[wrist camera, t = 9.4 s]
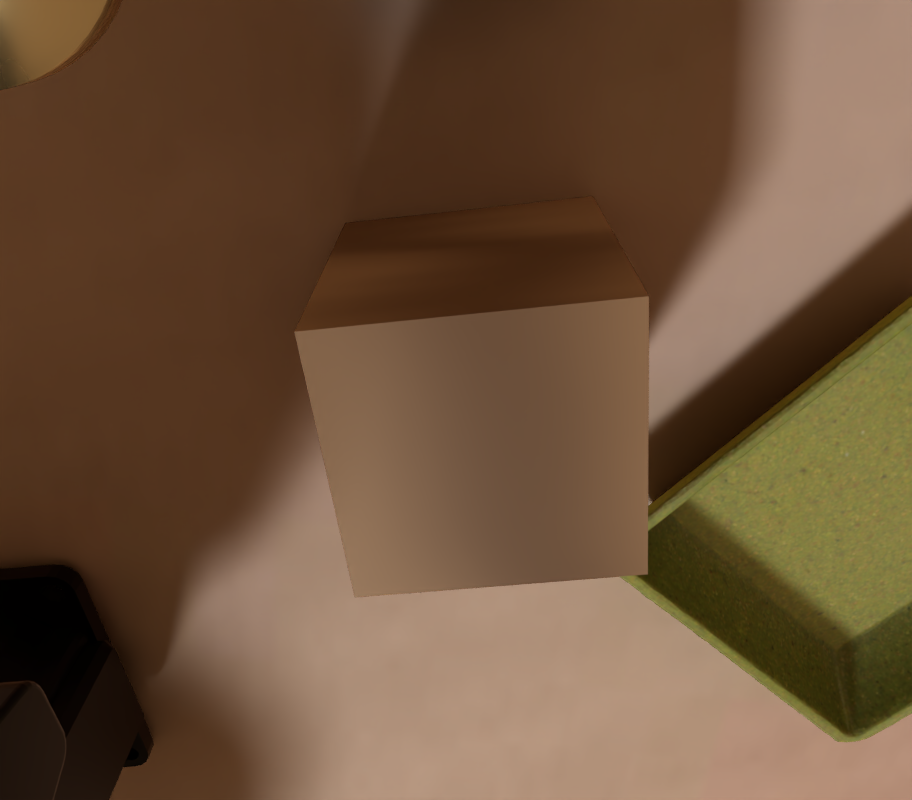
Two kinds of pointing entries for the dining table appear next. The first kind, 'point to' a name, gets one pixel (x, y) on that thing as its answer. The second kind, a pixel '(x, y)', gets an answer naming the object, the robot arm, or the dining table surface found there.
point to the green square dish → (806, 541)
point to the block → (482, 398)
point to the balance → (48, 35)
